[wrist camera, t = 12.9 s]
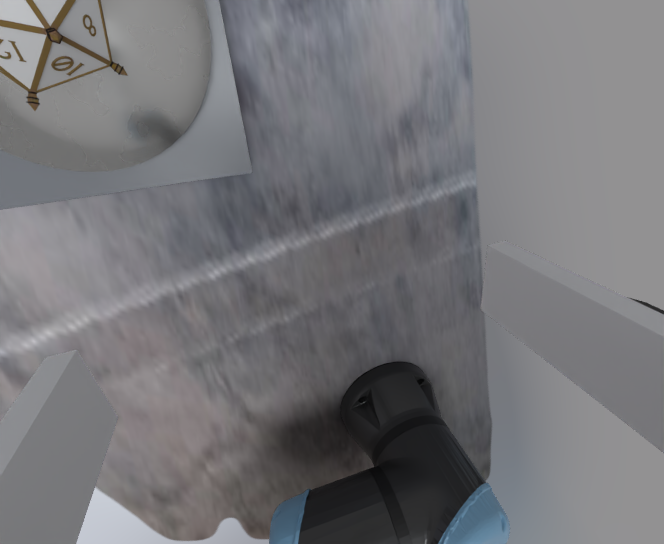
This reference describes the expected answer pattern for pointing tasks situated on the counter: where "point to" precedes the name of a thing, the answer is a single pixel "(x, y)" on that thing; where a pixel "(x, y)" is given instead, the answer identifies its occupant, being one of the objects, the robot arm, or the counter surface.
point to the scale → (164, 169)
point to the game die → (52, 43)
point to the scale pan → (118, 93)
